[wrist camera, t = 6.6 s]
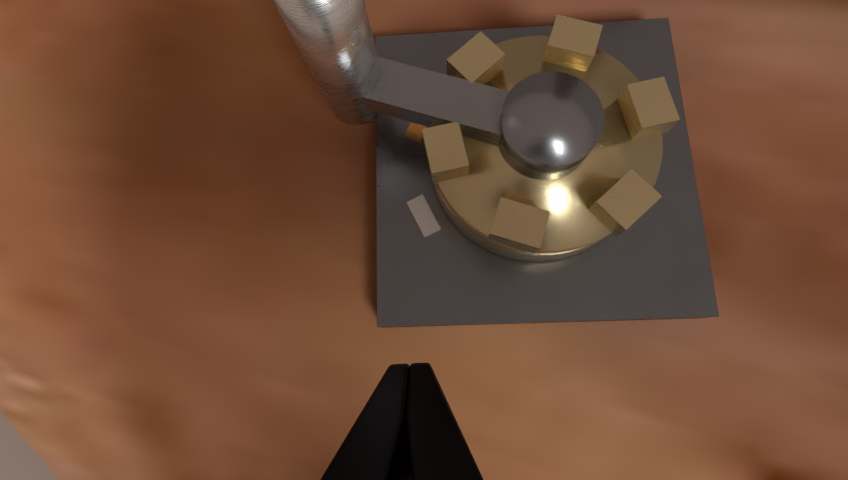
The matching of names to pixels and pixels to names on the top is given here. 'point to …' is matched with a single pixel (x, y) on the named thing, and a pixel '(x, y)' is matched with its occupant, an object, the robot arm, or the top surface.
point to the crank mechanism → (506, 126)
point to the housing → (536, 280)
